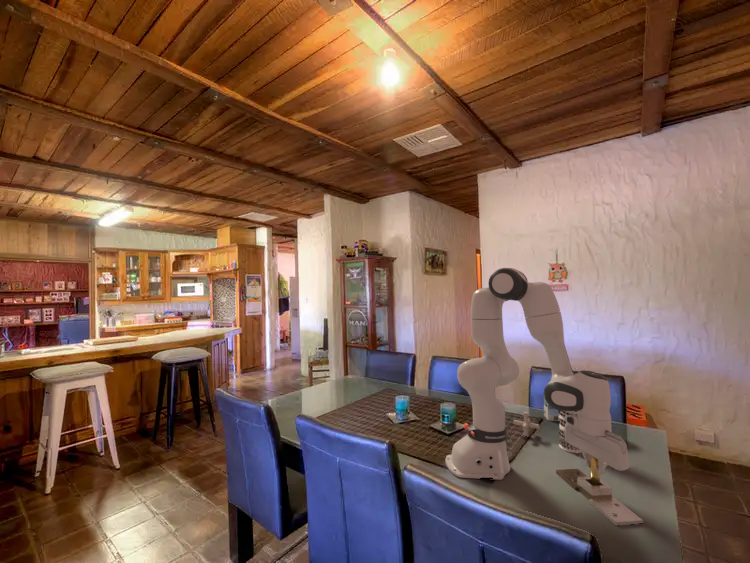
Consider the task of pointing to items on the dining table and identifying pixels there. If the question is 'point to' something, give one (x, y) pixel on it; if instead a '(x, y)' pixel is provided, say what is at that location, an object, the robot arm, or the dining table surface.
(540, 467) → the dining table surface
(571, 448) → the decorative candle
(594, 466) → the brass pin
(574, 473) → the hinge
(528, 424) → the pipe connector
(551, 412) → the light bulb box
